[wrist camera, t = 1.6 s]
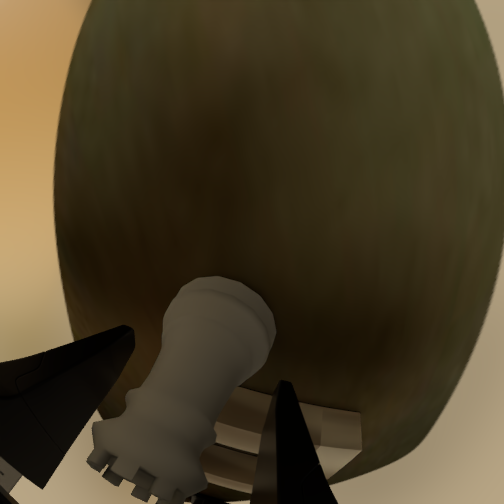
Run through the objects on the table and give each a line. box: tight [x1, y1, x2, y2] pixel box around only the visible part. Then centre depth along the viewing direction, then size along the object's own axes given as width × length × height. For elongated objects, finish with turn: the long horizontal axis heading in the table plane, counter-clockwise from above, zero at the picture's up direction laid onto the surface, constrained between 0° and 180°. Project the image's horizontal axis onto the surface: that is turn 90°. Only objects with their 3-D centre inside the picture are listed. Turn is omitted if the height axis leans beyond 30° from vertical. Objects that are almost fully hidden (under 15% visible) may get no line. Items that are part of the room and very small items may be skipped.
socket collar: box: [199, 386, 362, 494], centre depth 13 cm, size 10×10×2 cm
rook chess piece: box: [86, 276, 276, 504], centre depth 8 cm, size 4×4×8 cm
